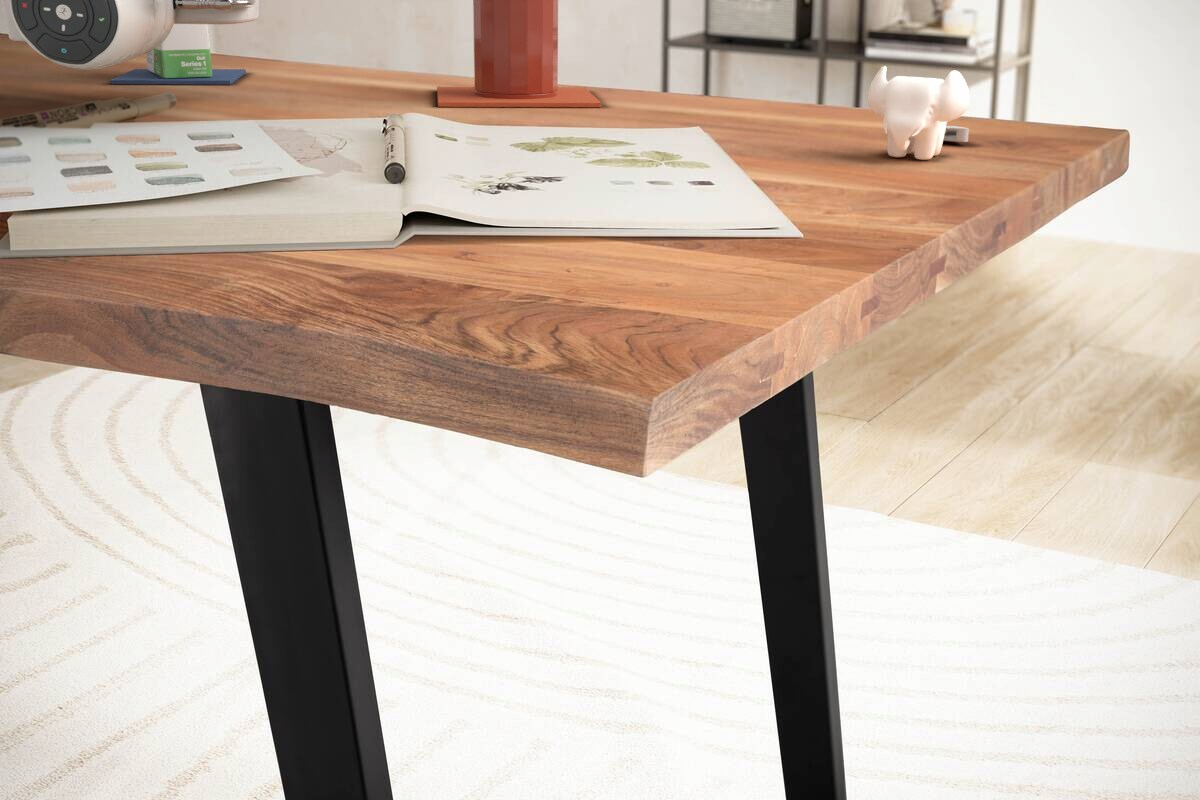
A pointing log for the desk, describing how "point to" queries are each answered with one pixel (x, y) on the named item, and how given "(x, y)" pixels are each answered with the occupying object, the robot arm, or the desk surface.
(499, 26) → the terracotta cup
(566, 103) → the terracotta mat
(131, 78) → the blue mat
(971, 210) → the desk surface
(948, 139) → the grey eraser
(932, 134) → the elephant figurine
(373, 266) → the desk surface
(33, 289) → the desk surface
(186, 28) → the ink box
